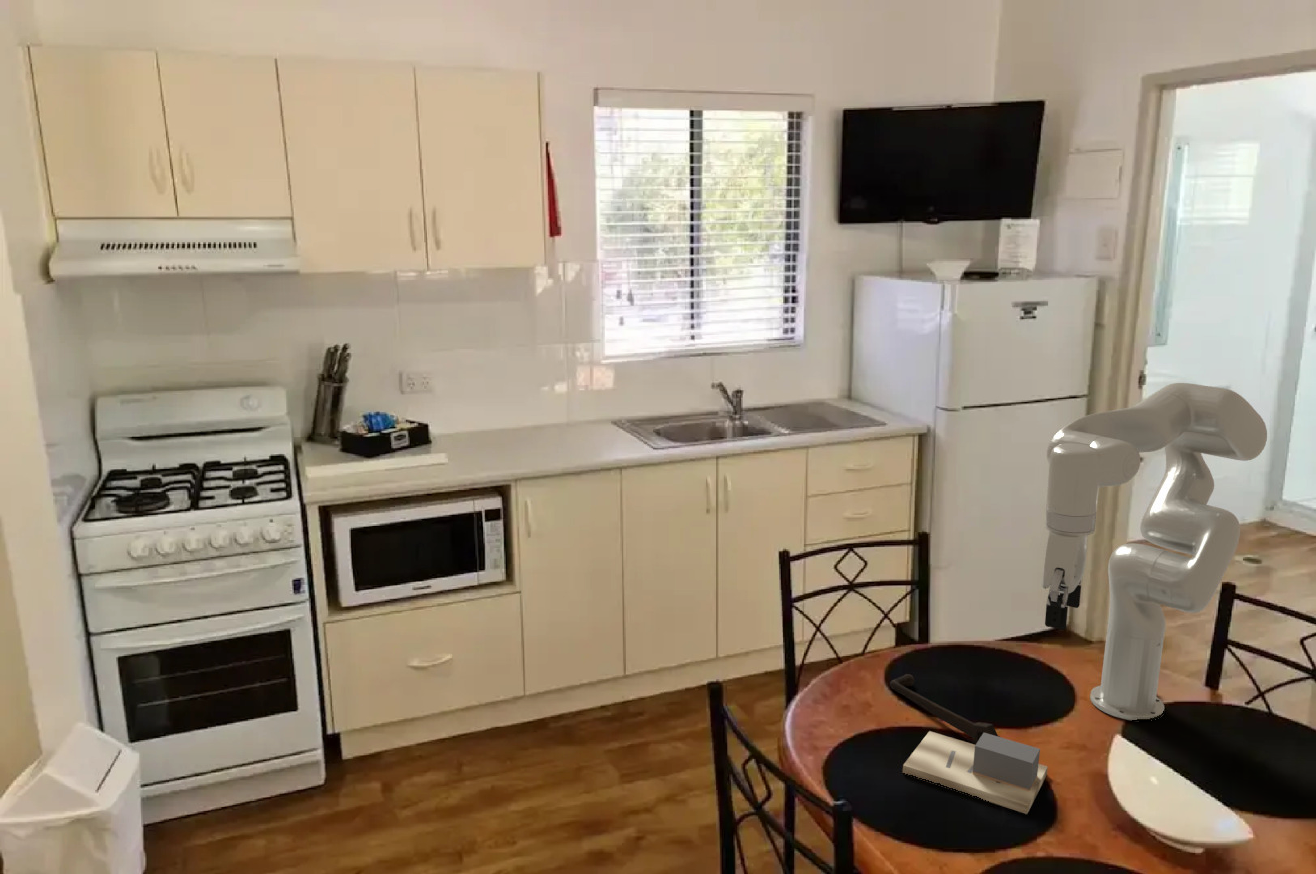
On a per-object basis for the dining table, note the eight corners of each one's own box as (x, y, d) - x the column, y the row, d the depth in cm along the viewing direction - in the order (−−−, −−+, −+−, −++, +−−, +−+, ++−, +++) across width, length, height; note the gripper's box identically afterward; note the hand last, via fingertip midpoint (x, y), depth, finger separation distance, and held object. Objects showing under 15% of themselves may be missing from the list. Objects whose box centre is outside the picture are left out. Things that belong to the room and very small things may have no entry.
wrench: (909, 690, 193) (1022, 755, 166) (888, 696, 191) (998, 763, 164) (908, 665, 192) (1021, 727, 165) (887, 672, 190) (998, 735, 163)
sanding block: (981, 759, 163) (983, 732, 162) (1037, 776, 158) (1040, 749, 157) (972, 773, 159) (974, 746, 158) (1029, 791, 154) (1032, 763, 153)
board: (928, 738, 172) (929, 731, 172) (1046, 774, 161) (1047, 766, 161) (902, 773, 162) (903, 765, 161) (1027, 814, 151) (1027, 805, 151)
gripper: (1058, 501, 167) (1051, 593, 172) (1032, 532, 154) (1025, 631, 158) (1105, 508, 163) (1097, 602, 168) (1083, 540, 150) (1074, 642, 154)
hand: (1062, 616), depth 163 cm, fingers open, 9 cm apart
